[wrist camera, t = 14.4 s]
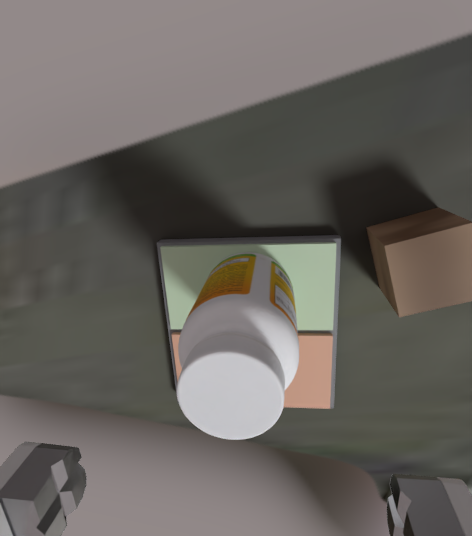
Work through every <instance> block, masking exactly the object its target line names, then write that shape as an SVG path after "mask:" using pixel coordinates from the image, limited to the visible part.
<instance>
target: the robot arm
mask: <svg viewBox="0 0 472 536" xmlns="http://www.w3.org/2000/svg"><path fill="white" fill-rule="evenodd" d="M80 459H81V454H80V451H79V448H76V447H70V446H61V445H53V444H44V443H34V442H24V443H22V444H21V445H19V446H18V447H17V448H16V449H15V451H14V452H13V453H12V454H11V455H10V456H9V457H8V458H7V460H6V461H5V462H4V463H3V464H2V466H0V536H61V535H62V533H63V531H64V530H65V528H66V526H67V522H66V516H67V515H69V514H70V513H71V512H73V511H74V510H75V509H76V508H77V507H78V505H79V503H80V501H81V499H82V497H83V494H84V491H85V487H86V473H85V469H84V468H83V467H82V466H81V465H80V464H79V463H78V462H79V460H80ZM390 488H391V492H392V495H391V496H390V497H389V498H388V501H387V523H388V528H389V534H390V536H472V496H471V494H470V492H469V490H468V488H467V486H466V484H465V483H464V482H463V481H462V480H461V479H450V478H436V477H430V476H416V475H403V474H393V475H392V476H391V480H390Z"/></svg>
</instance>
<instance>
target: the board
mask: <svg viewBox="0 0 472 536" xmlns="http://www.w3.org/2000/svg"><path fill="white" fill-rule="evenodd" d="M157 249H158V257H159V265H160V272H161V280H162V287H163V295H164V302H165V310H166V317H167V325H168V332H169V340H170V347H171V355H172V362H173V370H174V378H175V385H176V393H177V383H178V379H179V376H180V373H181V371H182V368H181V364H180V361H179V353H178V344H179V337H180V334H181V331H182V328H183V325H184V323H185V321H186V319H187V317H188V315H189V313H190V311H191V309H192V307H193V305H194V304H195V302H196V300H197V298H198V296H199V294H200V292H201V290H202V288H203V286H204V284H205V282H206V280H207V278H208V276H209V274H210V273H211V271H212V270H213V268H214V267H215V266H216V265H217V264H218V263H219V262H220V261H222V260H223V259H225V258H227V257H229V256H231V255H234V254H238V253H245V252H252V253H259V254H263V255H265V256H268V257H270V258H272V259H273V260H275V261H276V262H278V263H279V264H280V265H281V266H282V267H283V268H284V270H285V271H286V272H287V274H288V276H289V278H290V280H291V283H292V286H293V291H294V299H295V308H296V319H297V329H298V338H299V364H298V368H297V372H296V374H295V377H294V379H293V380H292V382H291V384H290V385H289V386H288V388H287V389H286V390H285V394H284V406H283V407H295V408H325V409H330V408H334V393H335V370H336V347H337V324H338V301H339V278H340V255H341V237H340V236H339V235H323V236H283V237H243V238H203V239H164V240H160V241H158V242H157ZM177 400H178V398H177ZM178 403H179V402H178Z"/></svg>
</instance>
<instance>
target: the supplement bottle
mask: <svg viewBox="0 0 472 536" xmlns="http://www.w3.org/2000/svg"><path fill="white" fill-rule="evenodd" d="M178 353H179V361H180V364H181V368H182V371H181V373H180V376H179V379H178V383H177V398H178V402H179V405H180V407H181V409H182V411H183V413H184V414H185V416H186V417H187V418H188V419H189V421H190V422H191V423H193V424H194V425H195V426H196V427H198V428H199V429H200V430H202V431H204V432H206V433H208V434H210V435H212V436H216V437H219V438H224V439H233V440H238V439H247V438H252V437H255V436H257V435H260V434H262V433H263V432H265V431H267V430H268V429H269V428H271V427H272V426H273V425H274V424H275V423H276V421H277V420H278V418H279V417H280V415H281V413H282V410H283V406H284V394H285V390H286V389H287V388H288V386H289V385H290V384H291V382H292V380H293V379H294V377H295V374H296V372H297V368H298V364H299V338H298V329H297V319H296V308H295V299H294V291H293V286H292V283H291V280H290V278H289V276H288V274H287V272H286V271H285V270H284V268H283V267H282V266H281V265H280V264H279V263H278V262H276V261H275V260H273V259H272V258H270V257H268V256H265V255H263V254H259V253H252V252H245V253H238V254H234V255H231V256H229V257H227V258H225V259H223V260H222V261H220V262H219V263H218V264H217V265H216V266H215V267H214V268H213V270H212V271H211V273H210V274H209V276H208V278H207V280H206V282H205V284H204V286H203V288H202V290H201V292H200V294H199V296H198V298H197V300H196V302H195V304H194V305H193V307H192V309H191V311H190V313H189V315H188V317H187V319H186V321H185V323H184V325H183V328H182V331H181V334H180V337H179V344H178Z"/></svg>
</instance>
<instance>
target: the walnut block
mask: <svg viewBox="0 0 472 536" xmlns="http://www.w3.org/2000/svg"><path fill="white" fill-rule="evenodd" d="M366 229H367V233H368V238H369V242H370V247H371V251H372V256H373V261H374V265H375V270H376V274H377V279H378V283H379V288H380V289H381V291H382V292H383V294H384V295H385V297H386V298H387V300H388V301H389V303H390V304H391V306H392V307H393V309H394V310H395V311H396V313H397V314H398V316H399V317H402V316H407V315H411V314H416V313H420V312H425V311H429V310H434V309H438V308H443V307H447V306H452V305H456V304H461V303H465V302H470V301H472V222H471V221H469V220H466V219H464V218H462V217H459V216H457V215H455V214H452V213H450V212H448V211H445V210H443V209H441V208H434V209H431V210H427V211H423V212H420V213H416V214H413V215H409V216H405V217H402V218H398V219H395V220H391V221H388V222H384V223H380V224H377V225H373V226H370V227H366Z"/></svg>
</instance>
